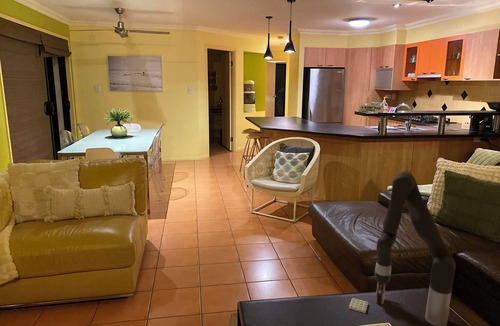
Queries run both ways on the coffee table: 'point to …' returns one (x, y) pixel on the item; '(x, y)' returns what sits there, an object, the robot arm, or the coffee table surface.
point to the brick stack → (382, 297)
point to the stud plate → (358, 305)
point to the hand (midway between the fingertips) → (379, 300)
